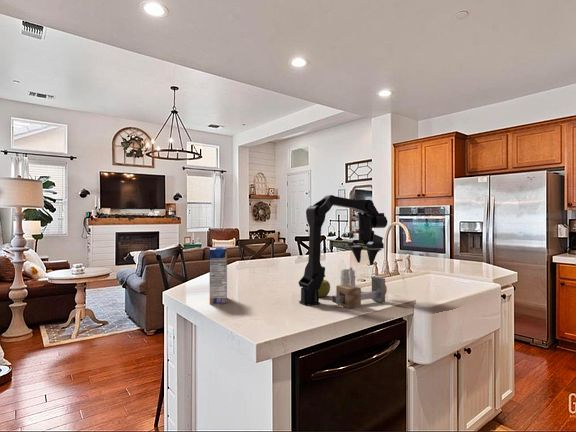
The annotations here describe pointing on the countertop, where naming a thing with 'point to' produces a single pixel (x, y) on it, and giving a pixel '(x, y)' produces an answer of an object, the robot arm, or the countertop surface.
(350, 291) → the block
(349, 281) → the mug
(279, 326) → the countertop surface
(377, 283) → the hook rod
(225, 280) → the beverage box
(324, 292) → the apple
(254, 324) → the countertop surface
